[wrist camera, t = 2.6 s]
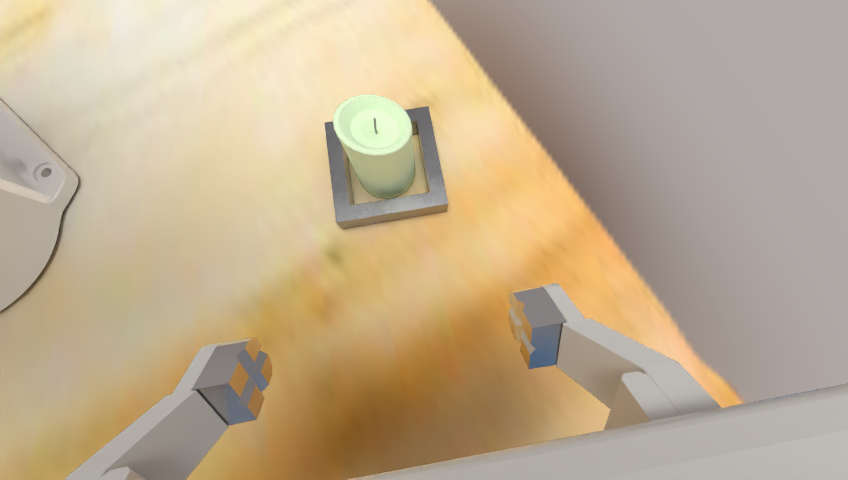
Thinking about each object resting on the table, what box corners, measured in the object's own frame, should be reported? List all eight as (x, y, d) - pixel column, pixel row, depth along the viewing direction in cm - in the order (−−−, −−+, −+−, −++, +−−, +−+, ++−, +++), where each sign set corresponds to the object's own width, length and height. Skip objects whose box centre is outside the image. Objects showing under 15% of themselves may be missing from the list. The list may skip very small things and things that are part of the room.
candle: (395, 137, 28) (383, 69, 20) (426, 179, 28) (426, 125, 20) (348, 165, 28) (317, 107, 20) (378, 209, 27) (358, 166, 19)
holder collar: (446, 211, 27) (448, 203, 25) (342, 228, 27) (336, 222, 25) (428, 120, 29) (428, 106, 27) (331, 135, 29) (324, 122, 27)
